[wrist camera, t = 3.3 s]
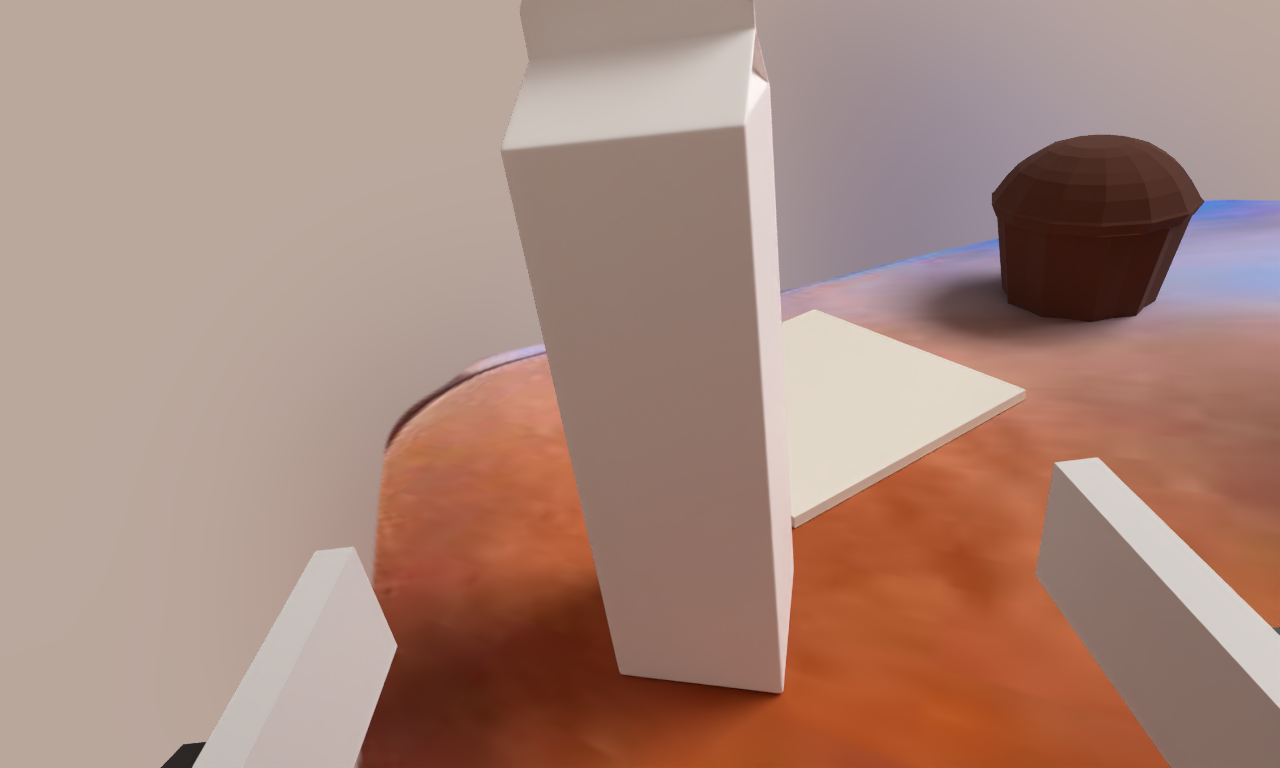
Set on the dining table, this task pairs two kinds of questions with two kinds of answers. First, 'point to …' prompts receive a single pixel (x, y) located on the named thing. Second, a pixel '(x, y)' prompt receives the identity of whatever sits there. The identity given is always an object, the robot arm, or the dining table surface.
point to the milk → (663, 320)
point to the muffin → (1091, 226)
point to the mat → (870, 408)
